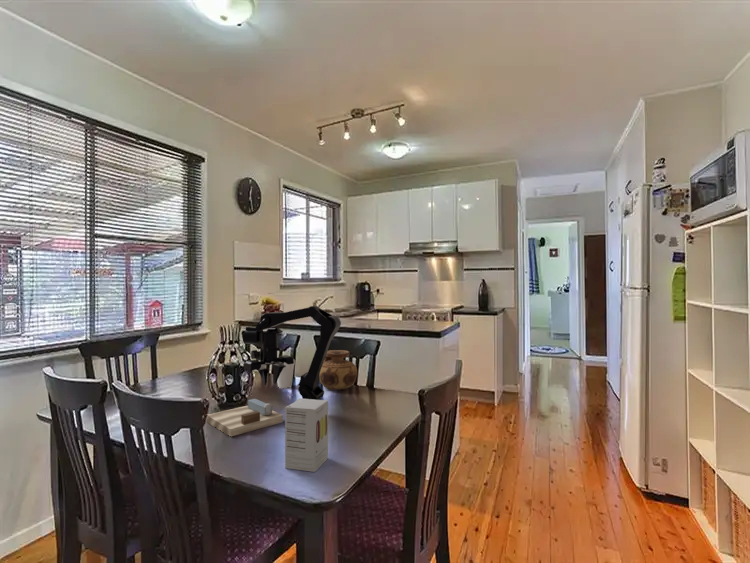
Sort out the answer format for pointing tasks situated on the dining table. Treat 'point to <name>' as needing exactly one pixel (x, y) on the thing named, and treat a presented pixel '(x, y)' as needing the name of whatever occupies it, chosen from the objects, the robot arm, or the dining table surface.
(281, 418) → the stool seat
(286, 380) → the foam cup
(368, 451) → the dining table surface
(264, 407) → the hinged leg
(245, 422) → the block
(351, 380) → the clay pot
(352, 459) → the dining table surface
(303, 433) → the supplement box
